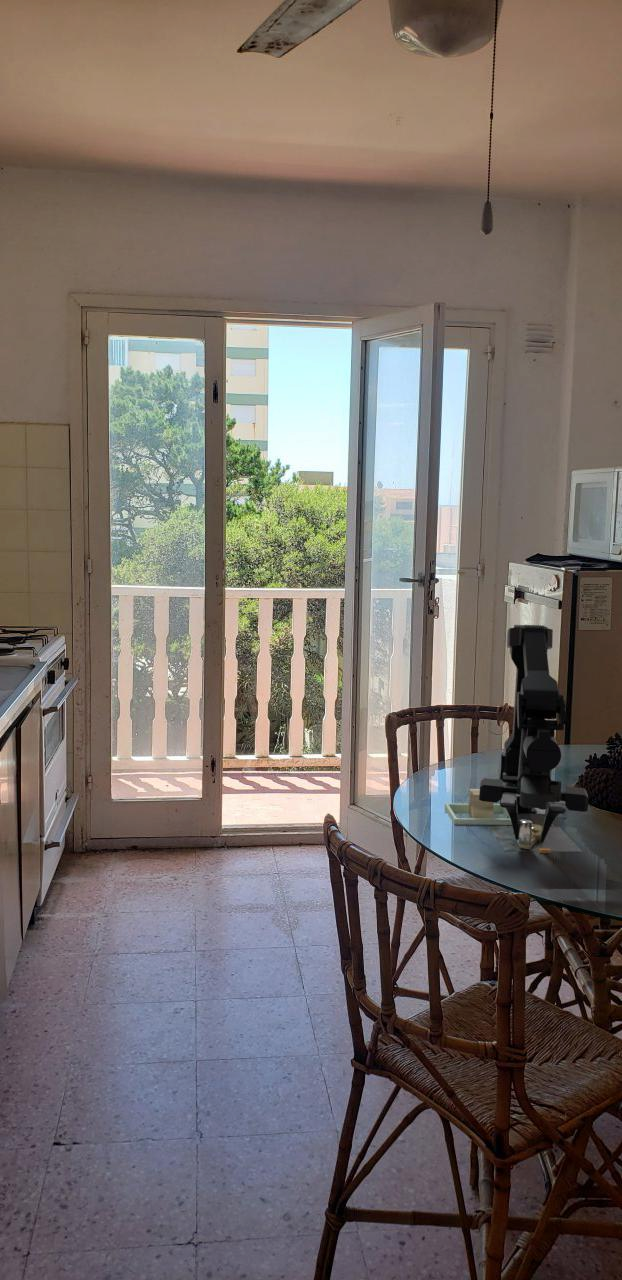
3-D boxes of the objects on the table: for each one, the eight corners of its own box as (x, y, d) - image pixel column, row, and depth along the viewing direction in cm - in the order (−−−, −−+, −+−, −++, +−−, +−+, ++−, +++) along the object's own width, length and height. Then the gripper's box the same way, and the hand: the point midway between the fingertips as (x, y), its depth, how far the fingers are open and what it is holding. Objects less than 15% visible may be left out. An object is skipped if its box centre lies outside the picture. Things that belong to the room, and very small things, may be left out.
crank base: (487, 834, 190) (487, 823, 190) (559, 834, 191) (559, 824, 190) (505, 860, 175) (506, 849, 175) (583, 861, 176) (583, 850, 176)
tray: (444, 815, 201) (445, 803, 201) (504, 815, 202) (505, 803, 201) (454, 831, 191) (454, 819, 191) (517, 832, 191) (518, 819, 191)
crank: (526, 833, 185) (527, 807, 185) (545, 836, 184) (546, 810, 183) (512, 848, 177) (513, 821, 176) (532, 852, 175) (533, 824, 174)
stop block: (468, 817, 198) (469, 788, 197) (487, 818, 198) (489, 789, 198) (472, 824, 194) (473, 794, 193) (492, 824, 194) (493, 794, 194)
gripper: (481, 762, 168) (474, 850, 171) (594, 773, 165) (586, 862, 167) (483, 747, 179) (477, 829, 181) (589, 757, 176) (581, 841, 178)
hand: (529, 840), depth 177 cm, fingers open, 4 cm apart
